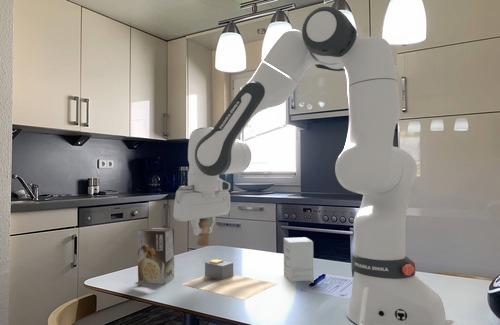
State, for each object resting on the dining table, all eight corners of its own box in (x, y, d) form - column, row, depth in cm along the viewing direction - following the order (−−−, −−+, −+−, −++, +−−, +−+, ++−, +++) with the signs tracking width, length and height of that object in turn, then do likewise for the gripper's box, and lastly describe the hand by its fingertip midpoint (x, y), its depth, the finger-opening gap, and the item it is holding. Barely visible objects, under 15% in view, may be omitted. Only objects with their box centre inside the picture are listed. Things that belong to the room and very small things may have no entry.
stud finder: (233, 275, 113) (233, 261, 113) (222, 279, 109) (222, 264, 109) (216, 272, 117) (216, 258, 117) (205, 275, 113) (205, 261, 113)
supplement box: (306, 277, 116) (306, 236, 116) (314, 284, 109) (313, 241, 109) (283, 278, 115) (283, 237, 115) (289, 286, 107) (289, 241, 108)
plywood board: (276, 287, 105) (276, 283, 106) (243, 304, 92) (243, 299, 92) (217, 275, 118) (217, 271, 118) (180, 288, 105) (180, 284, 105)
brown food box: (175, 281, 112) (175, 227, 112) (166, 288, 105) (166, 231, 106) (147, 279, 114) (147, 226, 114) (136, 286, 107) (136, 230, 108)
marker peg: (211, 244, 106) (211, 215, 106) (203, 246, 104) (203, 216, 104) (202, 242, 108) (202, 214, 108) (195, 244, 105) (195, 215, 106)
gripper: (185, 186, 96) (184, 240, 96) (233, 184, 112) (233, 230, 112) (168, 185, 99) (167, 237, 99) (217, 183, 116) (217, 228, 116)
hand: (203, 233), depth 106 cm, fingers closed on marker peg, 3 cm apart
